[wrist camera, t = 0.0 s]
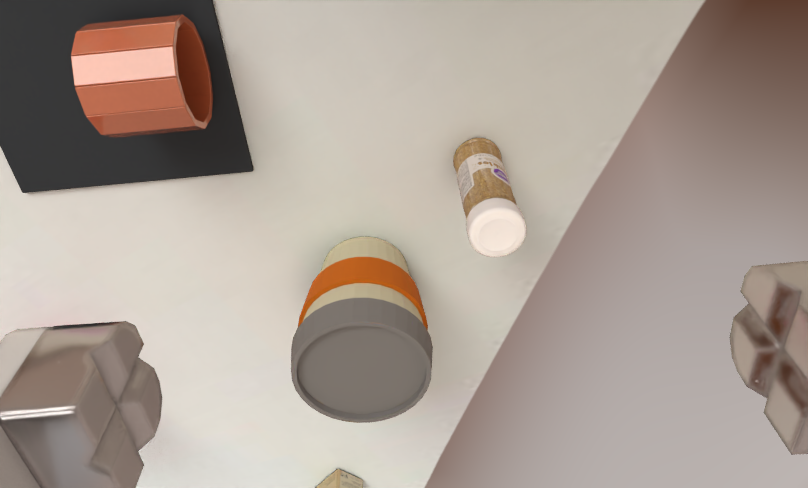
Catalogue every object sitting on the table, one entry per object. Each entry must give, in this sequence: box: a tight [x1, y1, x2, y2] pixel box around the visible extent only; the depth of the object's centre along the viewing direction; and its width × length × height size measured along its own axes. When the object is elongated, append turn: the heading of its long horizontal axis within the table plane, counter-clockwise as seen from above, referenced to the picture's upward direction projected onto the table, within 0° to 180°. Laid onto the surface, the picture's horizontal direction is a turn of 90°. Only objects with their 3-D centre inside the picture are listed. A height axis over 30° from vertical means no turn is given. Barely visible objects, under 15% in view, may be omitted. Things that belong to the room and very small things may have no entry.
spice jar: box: [453, 138, 526, 257], centre depth 55 cm, size 5×5×13 cm
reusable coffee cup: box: [291, 237, 433, 423], centre depth 61 cm, size 13×13×15 cm
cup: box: [71, 15, 213, 138], centre depth 50 cm, size 8×8×8 cm
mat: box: [0, 0, 253, 193], centre depth 54 cm, size 22×22×1 cm
